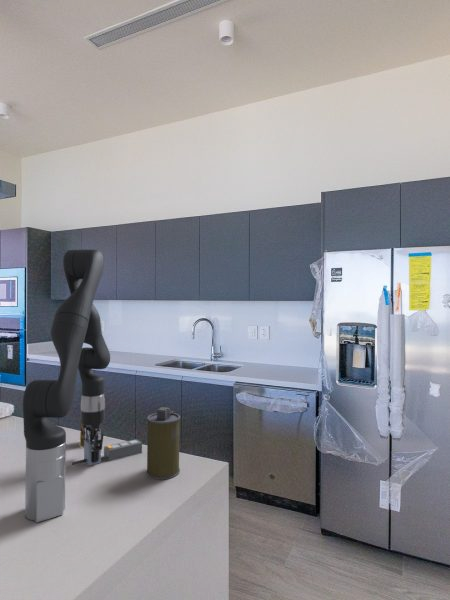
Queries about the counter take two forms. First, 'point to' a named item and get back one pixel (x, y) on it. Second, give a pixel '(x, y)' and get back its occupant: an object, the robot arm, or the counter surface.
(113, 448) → the strip
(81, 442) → the condiment
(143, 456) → the counter surface
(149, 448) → the canister
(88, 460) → the block
